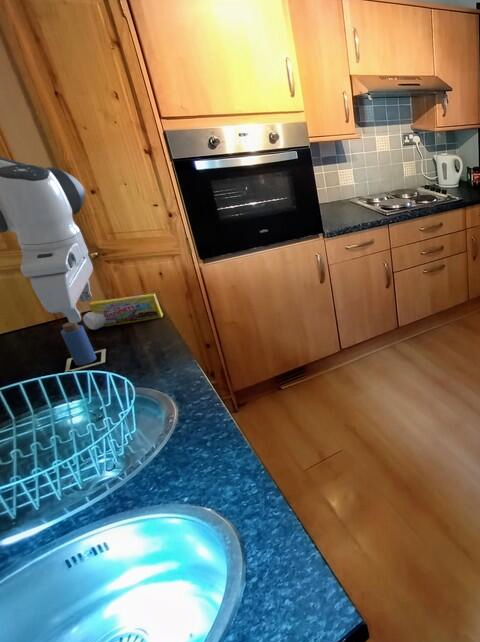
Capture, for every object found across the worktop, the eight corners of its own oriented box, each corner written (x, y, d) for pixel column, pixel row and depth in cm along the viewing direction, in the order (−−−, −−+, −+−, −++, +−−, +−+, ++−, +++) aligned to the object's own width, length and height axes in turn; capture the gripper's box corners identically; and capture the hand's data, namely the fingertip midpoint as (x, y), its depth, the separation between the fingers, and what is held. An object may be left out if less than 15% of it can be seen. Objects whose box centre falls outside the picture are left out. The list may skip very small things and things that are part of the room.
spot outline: (65, 373, 117) (64, 372, 117) (67, 359, 123) (67, 358, 123) (104, 362, 122) (104, 361, 122) (105, 349, 127) (105, 348, 127)
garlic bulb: (119, 322, 141) (113, 307, 139) (98, 331, 136) (91, 316, 133) (107, 319, 142) (101, 304, 140) (85, 328, 137) (78, 313, 135)
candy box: (98, 328, 138) (88, 304, 134) (100, 325, 140) (90, 301, 136) (161, 318, 144) (153, 295, 140) (163, 315, 145) (155, 292, 142)
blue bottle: (74, 367, 119) (57, 330, 115) (76, 360, 123) (58, 323, 118) (96, 361, 122) (80, 324, 117) (97, 354, 125) (81, 318, 120)
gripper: (49, 233, 95) (73, 291, 101) (16, 273, 79) (48, 338, 85) (88, 229, 98) (110, 285, 104) (64, 267, 82) (91, 330, 88)
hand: (81, 309), depth 95 cm, fingers open, 8 cm apart
